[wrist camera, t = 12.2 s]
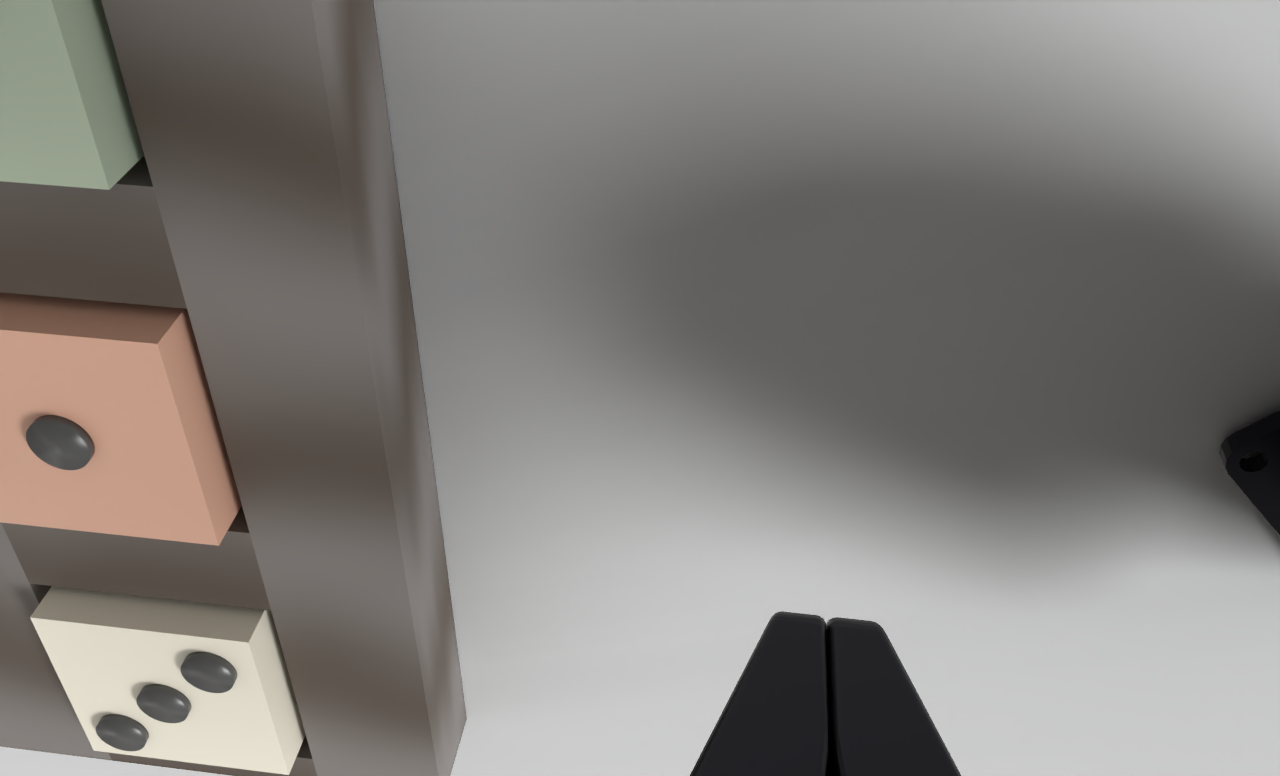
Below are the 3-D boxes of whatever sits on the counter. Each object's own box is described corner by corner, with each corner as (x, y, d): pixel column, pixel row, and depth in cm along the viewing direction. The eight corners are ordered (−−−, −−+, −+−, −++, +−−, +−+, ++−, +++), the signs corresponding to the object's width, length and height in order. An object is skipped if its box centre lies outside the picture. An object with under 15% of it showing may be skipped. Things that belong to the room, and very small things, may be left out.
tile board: (-446, -343, 17) (-609, -321, 15) (331, -315, 16) (264, -286, 14) (46, 669, 32) (-4, 745, 30) (466, 719, 31) (442, 801, 29)
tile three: (101, 515, 28) (25, 624, 25) (301, 536, 27) (244, 649, 25) (152, 648, 31) (89, 757, 28) (332, 668, 30) (285, 782, 28)
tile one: (-11, 227, 23) (-121, 325, 20) (232, 247, 22) (152, 350, 20) (64, 420, 26) (-23, 527, 23) (278, 441, 25) (214, 553, 23)
